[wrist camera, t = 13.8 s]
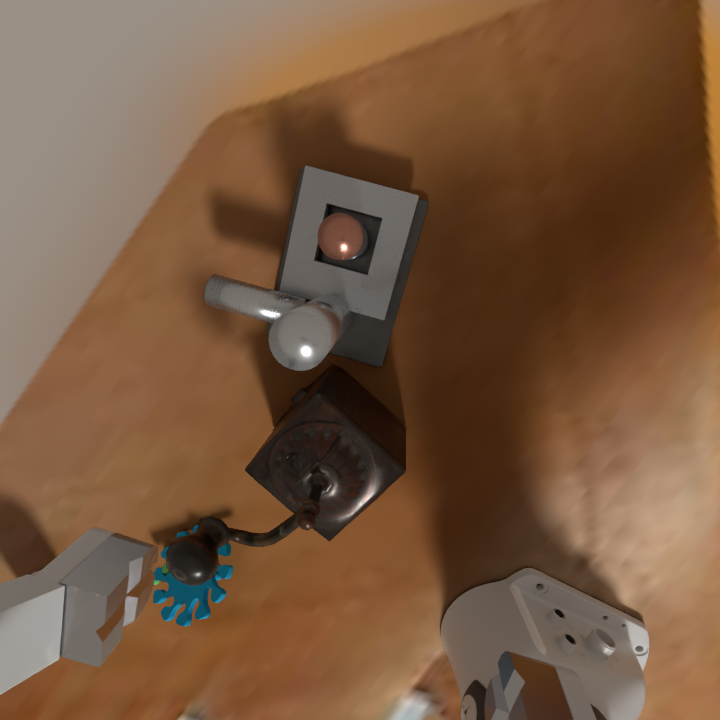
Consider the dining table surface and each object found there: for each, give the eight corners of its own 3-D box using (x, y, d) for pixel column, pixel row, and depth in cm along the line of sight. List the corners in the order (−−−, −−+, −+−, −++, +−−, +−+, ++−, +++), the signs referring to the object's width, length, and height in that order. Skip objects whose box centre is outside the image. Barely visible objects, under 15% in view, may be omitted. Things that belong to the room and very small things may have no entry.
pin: (374, 226, 39) (367, 219, 31) (365, 262, 40) (356, 265, 32) (339, 216, 39) (323, 207, 31) (330, 253, 40) (313, 253, 32)
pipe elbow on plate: (428, 202, 39) (442, 173, 24) (382, 365, 43) (370, 421, 29) (261, 158, 39) (179, 104, 25) (231, 323, 43) (146, 357, 29)
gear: (232, 521, 47) (217, 626, 42) (260, 529, 52) (249, 625, 47) (152, 526, 51) (129, 625, 45) (185, 534, 55) (168, 624, 50)
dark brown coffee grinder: (330, 356, 43) (280, 424, 26) (409, 427, 44) (411, 539, 27) (239, 454, 47) (143, 571, 30) (313, 517, 48) (262, 666, 31)
